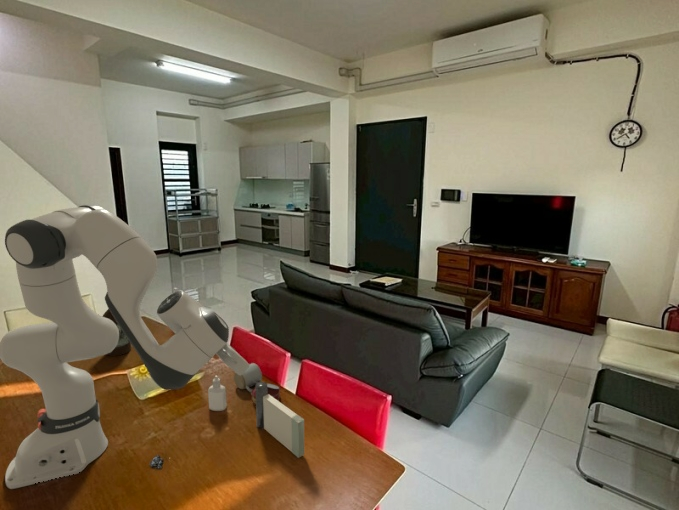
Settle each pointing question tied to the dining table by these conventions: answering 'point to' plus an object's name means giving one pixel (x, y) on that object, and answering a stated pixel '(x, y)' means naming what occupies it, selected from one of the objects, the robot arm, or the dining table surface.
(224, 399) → the eye dropper bottle
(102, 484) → the dining table surface
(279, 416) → the cream flat block
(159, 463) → the blueberries
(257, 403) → the hinge post
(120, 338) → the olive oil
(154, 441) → the dining table surface
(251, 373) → the ceramic mug
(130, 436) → the dining table surface
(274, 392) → the canned food
